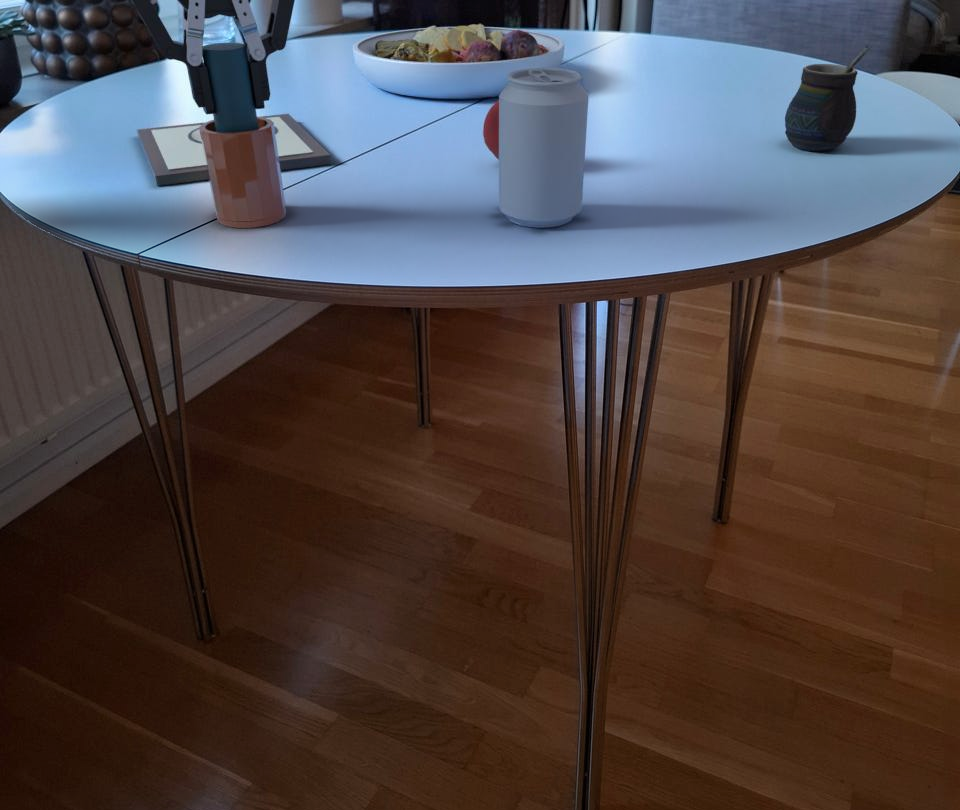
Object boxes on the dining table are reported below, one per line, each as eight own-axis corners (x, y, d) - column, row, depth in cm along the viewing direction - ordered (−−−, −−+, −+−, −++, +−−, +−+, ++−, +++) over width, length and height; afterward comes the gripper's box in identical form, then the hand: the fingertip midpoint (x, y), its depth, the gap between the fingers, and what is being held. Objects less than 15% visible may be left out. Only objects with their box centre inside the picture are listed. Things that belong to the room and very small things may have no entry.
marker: (234, 218, 76) (204, 51, 69) (227, 206, 79) (197, 44, 71) (274, 213, 78) (249, 48, 70) (266, 201, 80) (241, 41, 72)
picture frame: (157, 186, 86) (154, 173, 86) (138, 138, 101) (136, 127, 100) (331, 164, 92) (330, 152, 91) (289, 122, 107) (288, 111, 106)
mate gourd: (766, 141, 97) (783, 44, 91) (820, 134, 99) (841, 39, 94) (807, 158, 92) (828, 56, 86) (864, 150, 94) (889, 50, 88)
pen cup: (223, 232, 75) (205, 137, 71) (212, 210, 80) (194, 120, 75) (293, 222, 77) (279, 129, 73) (278, 201, 82) (265, 113, 77)
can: (530, 237, 74) (534, 86, 67) (482, 213, 79) (481, 70, 72) (598, 220, 77) (608, 74, 70) (547, 198, 82) (553, 60, 75)
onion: (549, 167, 90) (552, 84, 86) (511, 179, 87) (512, 94, 82) (510, 156, 94) (511, 76, 89) (472, 167, 90) (470, 85, 86)
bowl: (314, 82, 125) (307, 21, 120) (461, 54, 142) (460, -1, 138) (456, 116, 108) (455, 47, 103) (605, 79, 125) (609, 18, 120)
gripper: (276, -141, 68) (304, 93, 78) (87, -138, 64) (143, 108, 74) (298, -141, 63) (325, 110, 73) (92, -138, 58) (152, 129, 68)
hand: (233, 108), depth 73 cm, fingers closed on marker, 3 cm apart
